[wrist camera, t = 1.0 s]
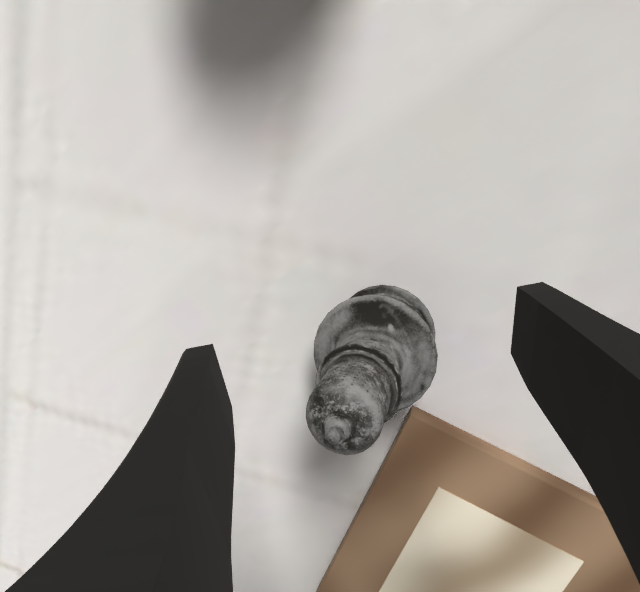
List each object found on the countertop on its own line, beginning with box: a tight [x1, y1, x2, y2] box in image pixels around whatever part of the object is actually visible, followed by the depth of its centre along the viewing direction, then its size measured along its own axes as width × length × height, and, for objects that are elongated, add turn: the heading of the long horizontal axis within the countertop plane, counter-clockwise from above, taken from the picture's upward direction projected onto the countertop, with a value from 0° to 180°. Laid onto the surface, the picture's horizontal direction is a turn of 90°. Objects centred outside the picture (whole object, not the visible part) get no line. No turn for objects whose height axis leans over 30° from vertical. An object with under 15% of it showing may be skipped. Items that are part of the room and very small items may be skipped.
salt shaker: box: [306, 285, 438, 455], centre depth 24 cm, size 6×6×12 cm
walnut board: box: [316, 406, 640, 592], centre depth 31 cm, size 14×14×1 cm
